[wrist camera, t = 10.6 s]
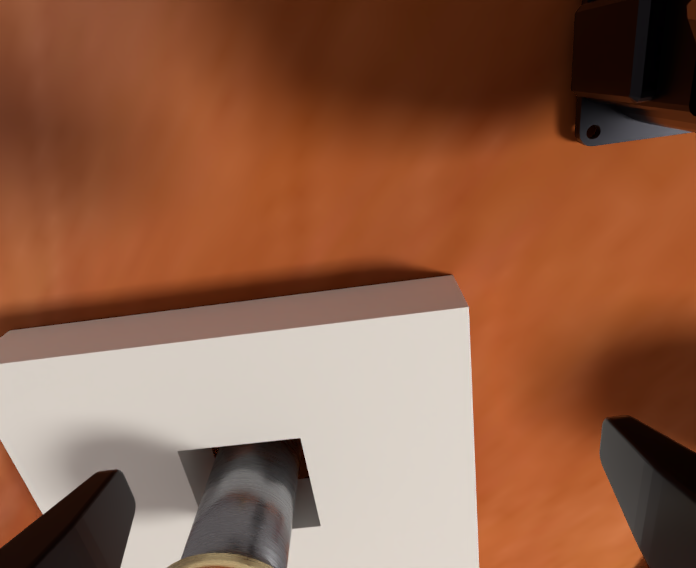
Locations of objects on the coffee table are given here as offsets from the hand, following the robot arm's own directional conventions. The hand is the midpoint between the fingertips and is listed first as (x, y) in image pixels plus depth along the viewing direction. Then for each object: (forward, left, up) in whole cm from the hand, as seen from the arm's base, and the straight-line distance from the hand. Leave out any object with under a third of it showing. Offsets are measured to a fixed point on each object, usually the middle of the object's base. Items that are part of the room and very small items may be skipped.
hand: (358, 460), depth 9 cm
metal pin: (+6, +10, -12) cm, 17 cm away
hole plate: (+6, +10, -12) cm, 17 cm away
